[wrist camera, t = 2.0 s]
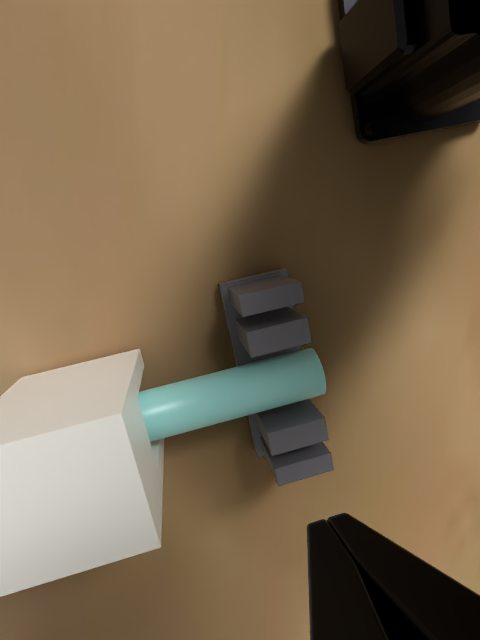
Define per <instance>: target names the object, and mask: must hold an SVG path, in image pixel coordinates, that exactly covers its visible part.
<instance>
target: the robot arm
mask: <svg viewBox="0 0 480 640" xmlns="http://www.w3.org/2000/svg"><path fill="white" fill-rule="evenodd" d="M339 8H340V15H341V22H340V24H339V26H338V30H339V38H340V46H341V53H342V61H343V68H344V76H345V83H346V90H347V91H348V92H349V93H350V95H351V100H352V108H353V115H354V123H355V131H356V135H357V138H358V139H359V141H361V142H363V143H372V142H377V141H382V140H388V139H393V138H398V137H403V136H408V135H414V134H419V133H424V132H429V131H434V130H440V129H445V128H450V127H455V126H460V125H466V124H471V123H476V122H480V0H339ZM366 125H369V126H370V127H371V129H372V134H371V135H368V134H367V133H366V130H365V128H366ZM307 548H308V580H309V612H310V640H480V595H479V594H477V593H475V592H474V591H472V590H470V589H469V588H467V587H466V586H464V585H462V584H461V583H459V582H457V581H456V580H454V579H453V578H451V577H449V576H448V575H446V574H445V573H443V572H441V571H440V570H438V569H436V568H435V567H433V566H432V565H430V564H428V563H427V562H425V561H424V560H422V559H420V558H419V557H417V556H415V555H414V554H412V553H411V552H409V551H407V550H406V549H404V548H402V547H401V546H399V545H398V544H396V543H394V542H393V541H391V540H390V539H388V538H386V537H385V536H383V535H381V534H380V533H378V532H377V531H375V530H373V529H372V528H370V527H368V526H367V525H365V524H364V523H362V522H360V521H359V520H357V519H356V518H354V517H352V516H351V515H349V514H347V513H342V514H338V515H335V516H332V517H329V518H328V520H324V519H322V520H319V521H316V522H313V523H310V524H308V525H307Z"/></svg>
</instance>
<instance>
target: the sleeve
mask: <svg viewBox="0 0 480 640" xmlns="http://www.w3.org/2000/svg"><path fill="white" fill-rule="evenodd" d="M143 370H144V362H143V359H142V355H141V351H140V349H136V350H132V351H128V352H124V353H119V354H115V355H111V356H107V357H103V358H99V359H95V360H91V361H86V362H82V363H78V364H74V365H70V366H66V367H62V368H58V369H54V370H49V371H45V372H41V373H37V374H33V375H29V376H25V377H21V378H20V379H19V380H18V381H17V382H16V383H15V384H13V385H12V386H11V387H10V388H9V389H8V390H7V391H6V392H5V393H4V394H2V395H1V396H0V597H1V596H5V595H8V594H11V593H14V592H18V591H21V590H24V589H27V588H31V587H34V586H37V585H40V584H44V583H47V582H50V581H54V580H57V579H60V578H63V577H67V576H70V575H73V574H76V573H80V572H83V571H86V570H89V569H93V568H96V567H99V566H102V565H106V564H109V563H112V562H115V561H119V560H122V559H125V558H128V557H132V556H135V555H138V554H141V553H145V552H148V551H151V550H155V549H158V548H161V533H162V499H163V465H164V438H163V439H159V440H156V441H152V442H150V440H149V437H148V433H147V430H146V426H145V423H144V419H143V416H142V412H141V409H140V405H139V402H138V394H139V389H140V384H141V379H142V375H143Z"/></svg>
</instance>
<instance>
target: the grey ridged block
mask: <svg viewBox="0 0 480 640" xmlns="http://www.w3.org/2000/svg"><path fill="white" fill-rule="evenodd" d="M218 285H219V289H220V294H221V298H222V303H223V307H224V312H225V317H226V321H227V326H228V330H229V335H230V339H231V344H232V348H233V353H234V357H235V362H236V367H237V366H241V365H245V364H249V363H253V362H257V361H261V360H265V359H269V358H273V357H276V356H280V355H284V354H288V353H292V352H296V351H300V350H302V349H301V345H304V344H308V343H312V341H311V335H310V329H309V323H308V318H307V317H306V316H304V315H302V314H300V313H298V312H296V311H295V310H294V305H296V304H300V303H304V302H305V300H304V294H303V288H302V283H301V281H298V280H295V279H292V278H289V276H288V271H287V269H283V268H281V269H277V270H273V271H268V272H264V273H260V274H255V275H251V276H246V277H242V278H238V279H233V280H229V281H224V282H220V283H218ZM247 417H248V421H249V426H250V430H251V435H252V439H253V444H254V449H255V451H256V454H257V456H258V458H260V457H263V456H265V457H266V459H267V462H268V464H269V466H270V468H271V471H272V473H273V475H274V477H275V480H276V482H277V484H278V486H281V485H285V484H288V483H291V482H295V481H298V480H302V479H305V478H308V477H312V476H315V475H318V474H322V473H325V472H328V471H332V470H334V469H333V463H332V457H331V452H330V451H329V450H328V449H327V447H326V446H325V445H324V443H323V441H326V440H329V439H328V434H327V428H326V422H325V417H324V416H323V415H322V414H321V413H320V412H319V411H318V409H317V408H316V407H315V406H314V405H313V404H312V403H311V399H306V400H302V401H299V402H295V403H291V404H288V405H284V406H280V407H277V408H273V409H269V410H266V411H262V412H258V413H255V414H251V415H247Z"/></svg>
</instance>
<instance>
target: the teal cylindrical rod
mask: <svg viewBox="0 0 480 640" xmlns="http://www.w3.org/2000/svg"><path fill="white" fill-rule="evenodd" d="M325 393H326V378H325V374H324V370H323V367H322V364H321V361H320V359H319V357H318V355H317V353H316V352H315V350H314V349H313V348H308V349H304V350H300V351H296V352H292V353H288V354H284V355H280V356H276V357H273V358H269V359H265V360H261V361H257V362H253V363H249V364H245V365H241V366H237V367H234V368H230V369H226V370H222V371H218V372H214V373H210V374H206V375H202V376H198V377H194V378H191V379H187V380H183V381H179V382H175V383H171V384H167V385H163V386H159V387H155V388H152V389H148V390H144V391H140V392H139V394H138V402H139V405H140V409H141V412H142V416H143V419H144V423H145V426H146V430H147V433H148V437H149V440H150V442H152V441H156V440H159V439H163V438H167V437H170V436H174V435H178V434H181V433H185V432H189V431H192V430H196V429H200V428H203V427H207V426H211V425H214V424H218V423H222V422H225V421H229V420H233V419H236V418H240V417H244V416H247V415H251V414H255V413H258V412H262V411H266V410H269V409H273V408H277V407H280V406H284V405H288V404H291V403H295V402H299V401H302V400H306V399H310V398H313V397H317V396H321V395H324V394H325Z"/></svg>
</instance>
